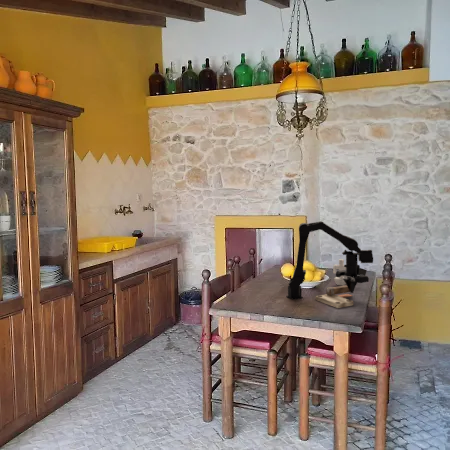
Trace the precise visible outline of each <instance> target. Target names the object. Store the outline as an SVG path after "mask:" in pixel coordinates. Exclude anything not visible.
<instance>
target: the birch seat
mask: <svg viewBox="0 0 450 450" xmlns="http://www.w3.org/2000/svg"><path fill="white" fill-rule="evenodd" d="M315 301H318V302H320V303H322V304H325V305H328V306H331V307H333V308H335V309H340V308H346V307H351V306H354V300H351V299H349V298H347V297H344V298H343V297H340V296H338V294H335V295H327V294H326V293H325V294H319V295H316V296H315Z"/></svg>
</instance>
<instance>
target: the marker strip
mask: <svg viewBox="0 0 450 450" xmlns="http://www.w3.org/2000/svg"><path fill="white" fill-rule="evenodd" d="M337 296H340V297H343V298H350V297H353V294H349V293H342V294H337Z"/></svg>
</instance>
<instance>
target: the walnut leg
mask: <svg viewBox="0 0 450 450" xmlns="http://www.w3.org/2000/svg"><path fill="white" fill-rule="evenodd" d="M325 292H326V293H325V294H327V295H342V294H347V293H350V291H349V289H348V286H347V285H346V284H345V285H337V286H334V287H333V286H332V287H331V286H329V287H326V291H325Z"/></svg>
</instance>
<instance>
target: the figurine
mask: <svg viewBox="0 0 450 450" xmlns="http://www.w3.org/2000/svg"><path fill="white" fill-rule="evenodd" d="M344 263H345V259H341V258H339V259H338V264H333V268H332V271H333V272H332V273H333V274H335V275H336V272H337V270H338V271H342V270H345V271H346V267H344V265H345V264H344ZM343 279H344V276H340V277H336V276H335V277H334V278H333V280H334V282H335V284H336V285H337V286H344V285H346V283H345V281H344V280H343Z"/></svg>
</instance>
